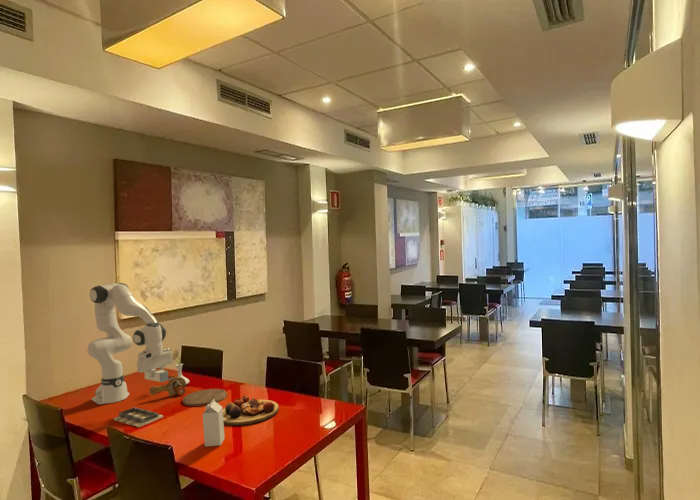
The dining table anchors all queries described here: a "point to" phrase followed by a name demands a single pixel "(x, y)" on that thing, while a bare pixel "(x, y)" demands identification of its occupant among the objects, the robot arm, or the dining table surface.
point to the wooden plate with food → (248, 411)
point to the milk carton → (213, 424)
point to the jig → (137, 417)
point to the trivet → (204, 397)
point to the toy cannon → (169, 388)
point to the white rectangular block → (157, 375)
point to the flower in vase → (179, 366)
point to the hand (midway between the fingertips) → (156, 375)
